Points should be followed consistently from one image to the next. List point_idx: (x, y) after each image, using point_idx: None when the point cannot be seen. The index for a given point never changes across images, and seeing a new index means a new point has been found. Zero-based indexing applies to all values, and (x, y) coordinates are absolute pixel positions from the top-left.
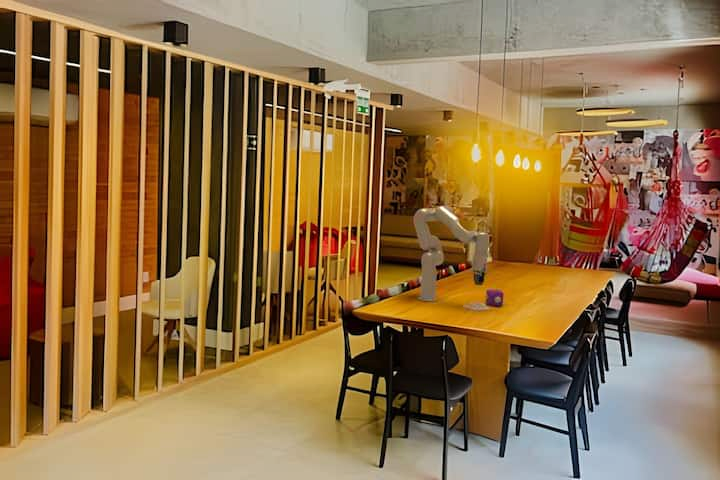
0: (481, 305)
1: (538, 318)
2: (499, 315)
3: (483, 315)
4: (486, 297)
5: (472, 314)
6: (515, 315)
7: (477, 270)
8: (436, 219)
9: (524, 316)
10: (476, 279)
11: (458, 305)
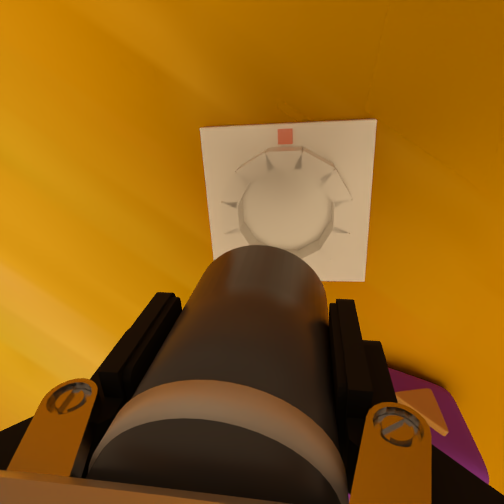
0: (222, 214)
1: (7, 388)
2: (57, 227)
3: (44, 100)
4: (425, 402)
5: (73, 14)
6: (67, 325)
7: (51, 479)
8: None
9: (46, 355)
10: (214, 294)
11: (454, 109)
